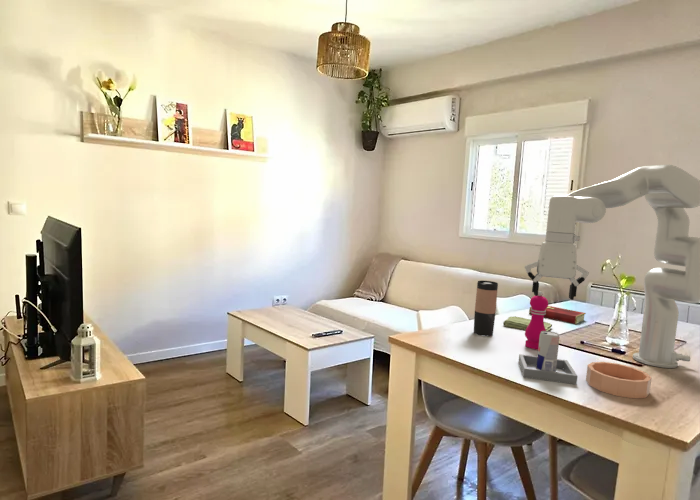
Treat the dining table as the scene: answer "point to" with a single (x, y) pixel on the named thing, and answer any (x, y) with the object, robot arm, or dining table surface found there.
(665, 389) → the dining table surface
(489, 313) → the travel mug
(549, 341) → the energy drink
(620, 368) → the bowl
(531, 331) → the pepper mill
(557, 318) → the hardcover book
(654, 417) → the dining table surface
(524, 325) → the washcloth
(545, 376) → the parts tray
